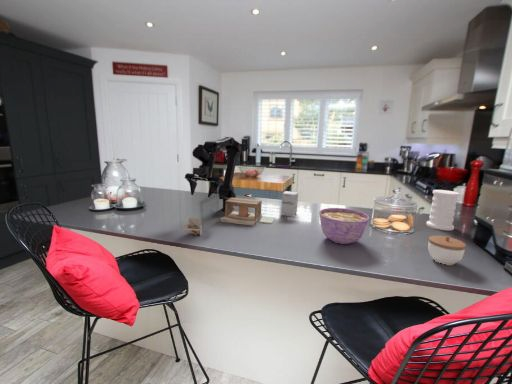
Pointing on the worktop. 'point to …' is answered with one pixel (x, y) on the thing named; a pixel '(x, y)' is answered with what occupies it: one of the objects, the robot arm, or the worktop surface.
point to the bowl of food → (343, 224)
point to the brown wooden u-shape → (243, 205)
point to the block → (243, 211)
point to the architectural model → (194, 226)
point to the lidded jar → (446, 249)
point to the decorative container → (443, 209)
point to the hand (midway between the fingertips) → (200, 196)
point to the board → (240, 218)
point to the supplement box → (289, 203)
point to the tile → (267, 220)
